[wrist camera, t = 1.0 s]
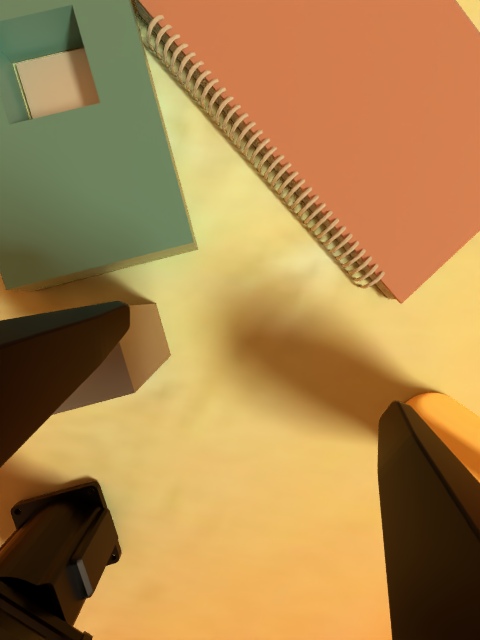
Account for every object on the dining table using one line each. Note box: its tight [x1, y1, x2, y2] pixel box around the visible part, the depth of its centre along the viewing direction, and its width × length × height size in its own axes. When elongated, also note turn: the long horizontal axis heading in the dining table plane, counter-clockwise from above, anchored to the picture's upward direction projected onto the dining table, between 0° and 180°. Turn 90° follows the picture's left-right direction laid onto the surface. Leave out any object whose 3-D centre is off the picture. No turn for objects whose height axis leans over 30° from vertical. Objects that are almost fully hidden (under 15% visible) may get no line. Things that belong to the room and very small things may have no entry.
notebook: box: [135, 0, 480, 303], centre depth 19 cm, size 27×17×2 cm, turn 43°
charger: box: [52, 303, 171, 415], centre depth 16 cm, size 4×4×8 cm
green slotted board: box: [0, 0, 198, 291], centre depth 17 cm, size 12×20×2 cm, turn 15°
